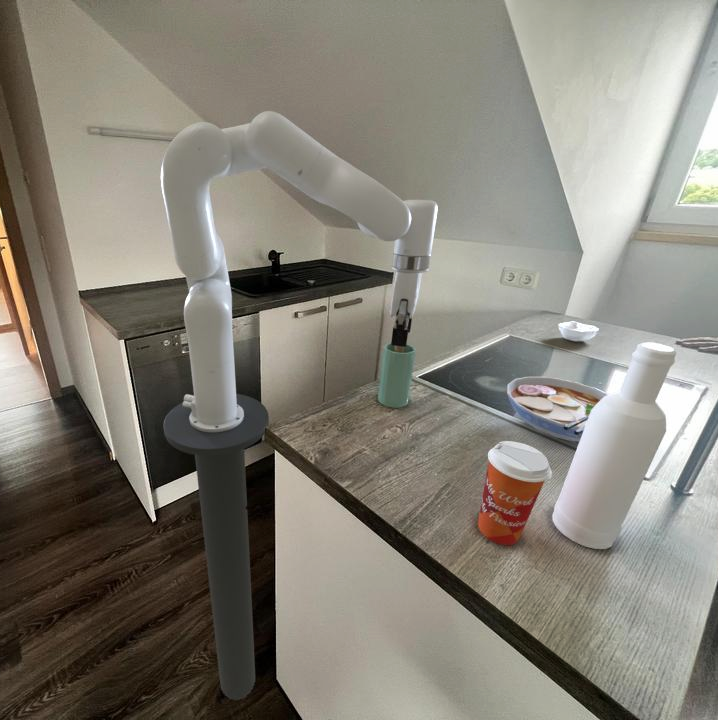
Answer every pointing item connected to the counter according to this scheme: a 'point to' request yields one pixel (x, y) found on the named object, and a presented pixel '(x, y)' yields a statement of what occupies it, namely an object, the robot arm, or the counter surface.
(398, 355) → the cylindrical holder
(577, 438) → the ramen bowl
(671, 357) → the bottle
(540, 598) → the counter surface
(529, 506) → the paper cup
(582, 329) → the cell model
